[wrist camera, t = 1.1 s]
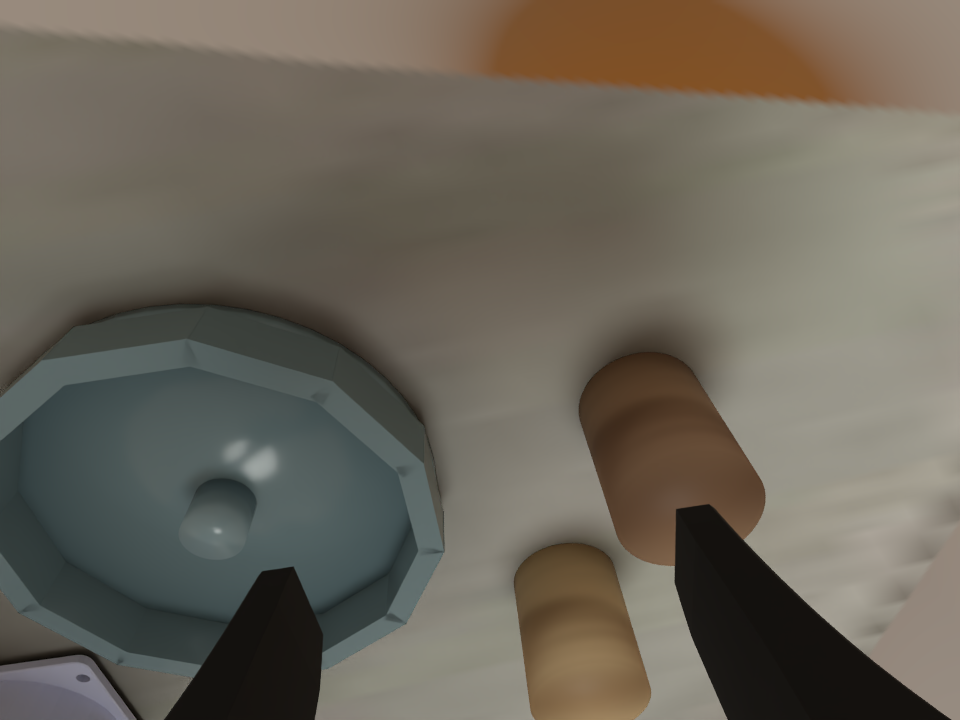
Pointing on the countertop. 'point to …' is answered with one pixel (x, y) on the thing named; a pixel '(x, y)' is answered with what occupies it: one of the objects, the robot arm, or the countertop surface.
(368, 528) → the ring dish
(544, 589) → the oak bead
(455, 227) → the countertop surface
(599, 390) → the walnut bead
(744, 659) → the robot arm
